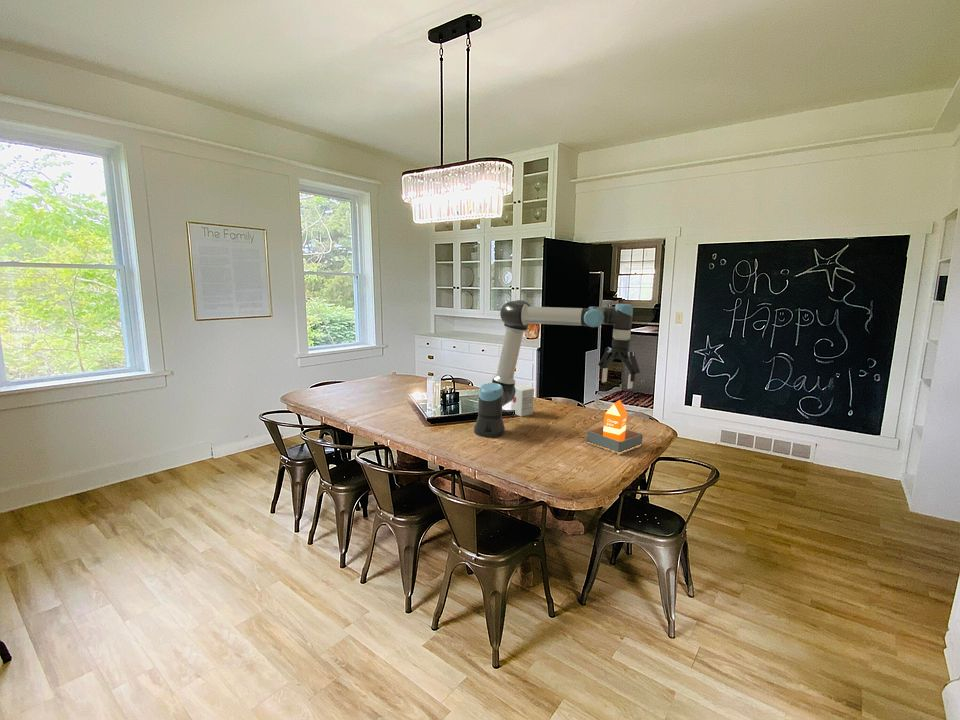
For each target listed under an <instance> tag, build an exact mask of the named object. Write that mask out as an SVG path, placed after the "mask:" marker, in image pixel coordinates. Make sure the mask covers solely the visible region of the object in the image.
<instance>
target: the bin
mask: <svg viewBox="0 0 960 720" xmlns="http://www.w3.org/2000/svg"><path fill="white" fill-rule="evenodd" d="M603 428H604V425H602V426H600V427H597V428H592V429H590V430H587V435H586V437H587V438H586V443H587V442H590V443H593V444H596V445H599V446H602V447H605V448H609V449H611V450H614V451H617V452H622V451H624V450H627V449H630V448H632V447H635V446H637V445H640V444H642V443H643V435H644V434H642V433H639V432H636V431H633V430H630V429H627V428H626V430H625V440H623V441H617V440H614V439H611V438H609V437H606V436H603Z"/></svg>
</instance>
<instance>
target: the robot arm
mask: <svg viewBox="0 0 960 720" xmlns="http://www.w3.org/2000/svg"><path fill="white" fill-rule="evenodd" d="M499 313H500V319H501V321H502V322H503V323H504V324H503V326H504V328H505V334H504V338H503V343H502V349H501V352H500V357H499V363H498V367H497V372H496V374H495V375H493V377H492V380H491V382H488V383H484V384H482V385H480V387H479V389H478V404H477V405H478V406H477V407H478V408H477V410H478V412H477V415H478V416H477V418H476V421H475V425H474V426H473V433H474V434H475V435H478V436H480V437H485V438H497V437H502V436H504V435H505V432H506V427H505V424H504V421H503V407H504V406H505V405H507V404H510V402H512V399H513V398H514V396H515V393H516V389H515V387H516V386H515V385H516V380H515V378H514V377H515V372H516V367H517V363H518V357H519V353H520V349H521V343H522V340H523V335H524V333H525V332H527V331H528V328H529V324H538V325H539V324H540V325H556V326H557V325H561V326H582V327H583V326H584V327H590V328H598V327H599V326H601V325H611V326H612V325H613V329H612V340H611V347H609V346H608V347H605V349H604V350H605V351H604V353H603V355H602V357H601V358H600V359H599V361H598V364H597V366H599V367H600V368H601V371H600V372H601V373H600V375H601V383H607V379H608V371H609V370H608V369H609V368H608V366H609V365H610V364H611V363H612V362H613V361H614V360H619V361H622V362H623V363H624V364H625V366H626V368H627V370H628V372H629V373H628V379H627V388H626V389H628V390H629V389H633V384H634V382H635V379H636V375H637V374H640V372H641V371H640V367H639V364H638V362H637V358H636V351H634V350H633V351H629V349H630V344H631V343H630V342H631V341H630V339H631V332H632V325H633V323H632V322H633V315H634V314H633V313H634V307H633V305H632V304H630V303H629V304H628V303H616V304H615V307H606V306H605V307H603V306H589V307H588V308H587V307H586V308H582V307H559V306H558V307H553V306H552V307H551V306H532V304H530V303H529V302H528V301H526V300H522V299H517V300H509V301H508V302H506V303H505V302H504V304H503V305H502V307H501V308H500V312H499ZM610 353H611V355H610Z"/></svg>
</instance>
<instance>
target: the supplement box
mask: <svg viewBox="0 0 960 720" xmlns="http://www.w3.org/2000/svg"><path fill="white" fill-rule="evenodd" d="M515 389H516V393H515V396H514V398H513V399H512V400H511V401H510V402H511V403H510V404H511V406H510V410H511V409H513V410H515V414H514V415H517V417H520V418H521V417H525V416H530V415H531V416H532V415H533V413H534V412H533V411H534V394H535V388H533V387H530V386H527V385H524V384H522V385H516V386H515Z"/></svg>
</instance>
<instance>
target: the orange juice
mask: <svg viewBox="0 0 960 720" xmlns="http://www.w3.org/2000/svg"><path fill="white" fill-rule="evenodd" d="M603 419H604V420H603V421H604V422H603V426H604V428H603V436H606V437H609V438H611V439H614V440H617V441H623V440H625V430H626V429H627V419H628V412H627V410H626V408H625V406H624V404H623V403H622V401H621V399H619V400H617V401H616V402H614V403H613V404H612V405H611V406H610V407H609V408H608V409H607V410H606V412H604V417H603Z"/></svg>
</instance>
